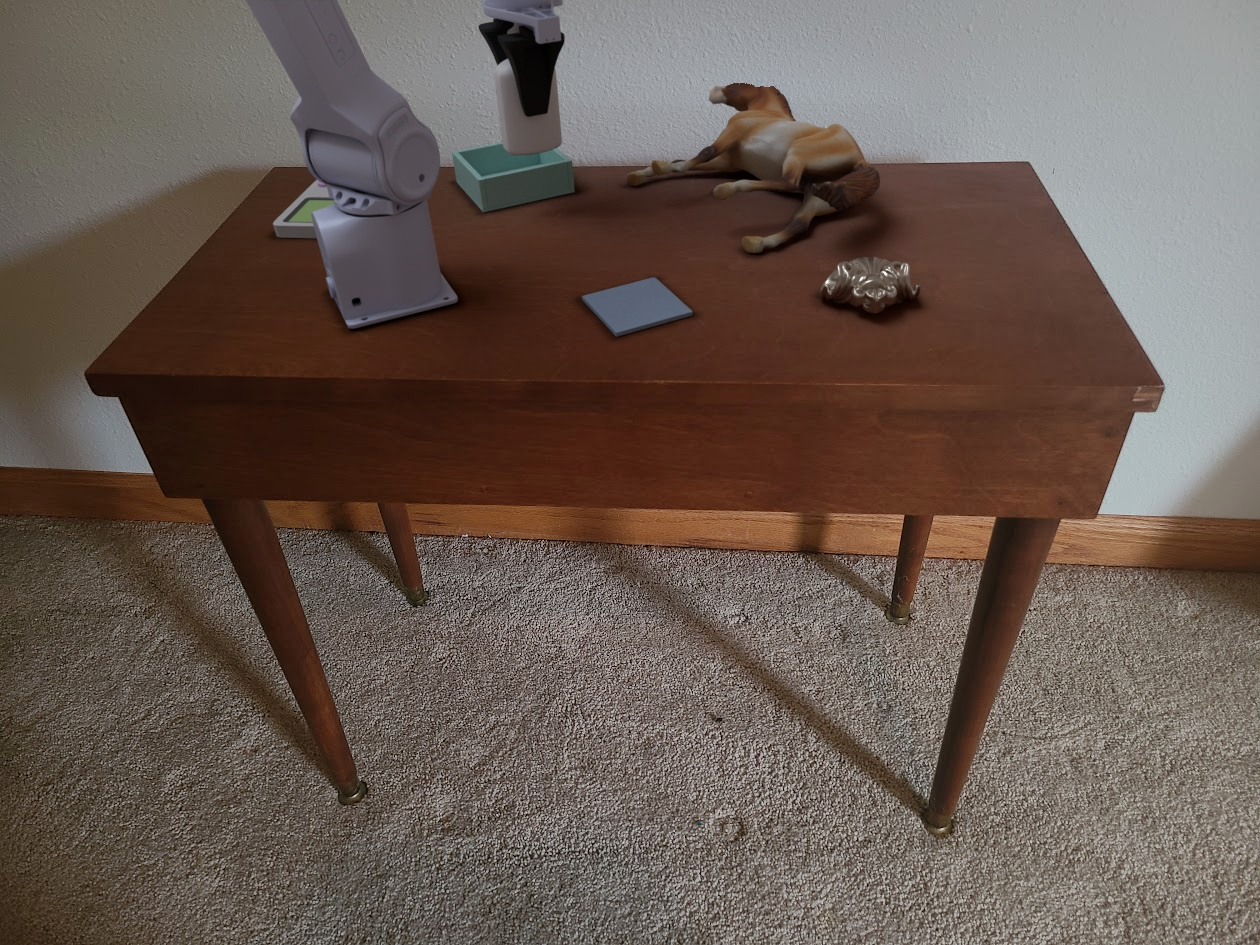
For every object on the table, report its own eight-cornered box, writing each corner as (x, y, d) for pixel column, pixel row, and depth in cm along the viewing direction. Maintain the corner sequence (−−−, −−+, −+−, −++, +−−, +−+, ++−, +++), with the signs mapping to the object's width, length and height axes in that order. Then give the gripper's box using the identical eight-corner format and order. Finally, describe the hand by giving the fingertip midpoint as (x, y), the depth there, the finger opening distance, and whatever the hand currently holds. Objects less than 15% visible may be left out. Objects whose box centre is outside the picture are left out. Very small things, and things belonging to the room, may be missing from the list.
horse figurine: (598, 120, 95) (752, 63, 102) (609, 190, 100) (755, 131, 107) (793, 205, 74) (971, 125, 81) (795, 288, 79) (962, 207, 86)
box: (483, 212, 92) (478, 180, 90) (456, 182, 99) (451, 151, 97) (574, 192, 96) (572, 160, 93) (543, 164, 102) (540, 134, 100)
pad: (616, 337, 73) (616, 332, 72) (581, 299, 78) (581, 295, 77) (692, 315, 75) (692, 311, 74) (654, 280, 80) (654, 276, 79)
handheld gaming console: (414, 165, 99) (366, 224, 87) (417, 179, 100) (369, 239, 88) (327, 165, 100) (269, 222, 89) (331, 178, 101) (273, 237, 90)
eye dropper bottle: (508, 140, 90) (492, 8, 82) (564, 140, 89) (553, 6, 82) (500, 156, 86) (482, 20, 79) (558, 156, 86) (546, 18, 78)
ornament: (822, 325, 73) (827, 284, 70) (815, 284, 78) (819, 245, 76) (924, 325, 72) (932, 284, 70) (910, 284, 77) (917, 244, 75)
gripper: (589, -49, 73) (599, 122, 81) (525, -73, 83) (540, 82, 92) (506, -39, 71) (525, 137, 79) (451, -64, 81) (473, 93, 89)
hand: (528, 108), depth 85 cm, fingers closed on eye dropper bottle, 3 cm apart
